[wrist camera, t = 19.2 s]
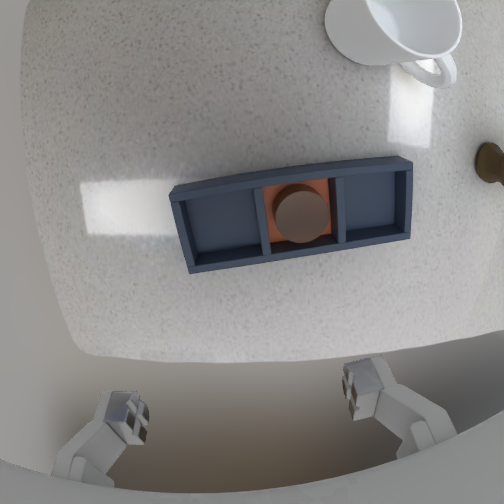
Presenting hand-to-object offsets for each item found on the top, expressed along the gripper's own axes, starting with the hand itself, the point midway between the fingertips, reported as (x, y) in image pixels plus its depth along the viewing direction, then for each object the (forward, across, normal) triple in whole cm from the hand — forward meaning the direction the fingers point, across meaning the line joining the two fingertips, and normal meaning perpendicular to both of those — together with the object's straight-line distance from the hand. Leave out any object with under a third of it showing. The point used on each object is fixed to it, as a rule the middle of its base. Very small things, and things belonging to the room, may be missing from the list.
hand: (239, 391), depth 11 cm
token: (+21, -6, +1) cm, 22 cm away
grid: (+22, -6, +1) cm, 22 cm away
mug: (+22, -16, -14) cm, 31 cm away
